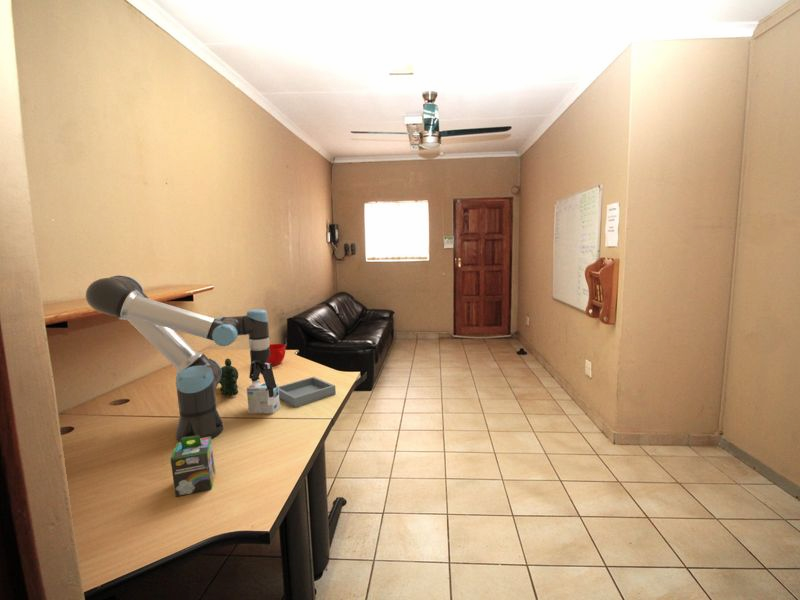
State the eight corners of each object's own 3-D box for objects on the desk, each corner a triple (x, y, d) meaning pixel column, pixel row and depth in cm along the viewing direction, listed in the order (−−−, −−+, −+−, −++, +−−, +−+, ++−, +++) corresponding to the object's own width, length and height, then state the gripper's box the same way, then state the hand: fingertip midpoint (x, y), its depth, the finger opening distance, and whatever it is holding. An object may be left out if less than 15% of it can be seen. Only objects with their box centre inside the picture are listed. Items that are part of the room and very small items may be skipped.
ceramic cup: (271, 370, 210) (270, 352, 209) (258, 363, 223) (257, 346, 222) (293, 364, 219) (292, 347, 218) (280, 359, 232) (279, 342, 230)
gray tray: (295, 407, 160) (294, 398, 160) (275, 396, 173) (274, 387, 173) (335, 394, 174) (335, 385, 173) (314, 384, 187) (313, 376, 186)
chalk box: (215, 472, 115) (211, 424, 113) (212, 490, 107) (207, 439, 105) (180, 479, 112) (175, 430, 110) (174, 498, 104) (168, 446, 102)
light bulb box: (280, 407, 161) (278, 382, 160) (273, 414, 155) (271, 388, 153) (255, 406, 162) (253, 381, 161) (248, 413, 156) (245, 387, 154)
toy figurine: (243, 401, 172) (237, 380, 194) (240, 361, 168) (234, 344, 190) (220, 406, 168) (216, 383, 189) (216, 365, 164) (213, 346, 185)
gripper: (283, 351, 149) (286, 405, 152) (256, 341, 166) (259, 390, 169) (264, 355, 144) (268, 411, 147) (238, 345, 161) (242, 395, 164)
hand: (263, 400), depth 158 cm, fingers closed on light bulb box, 12 cm apart
